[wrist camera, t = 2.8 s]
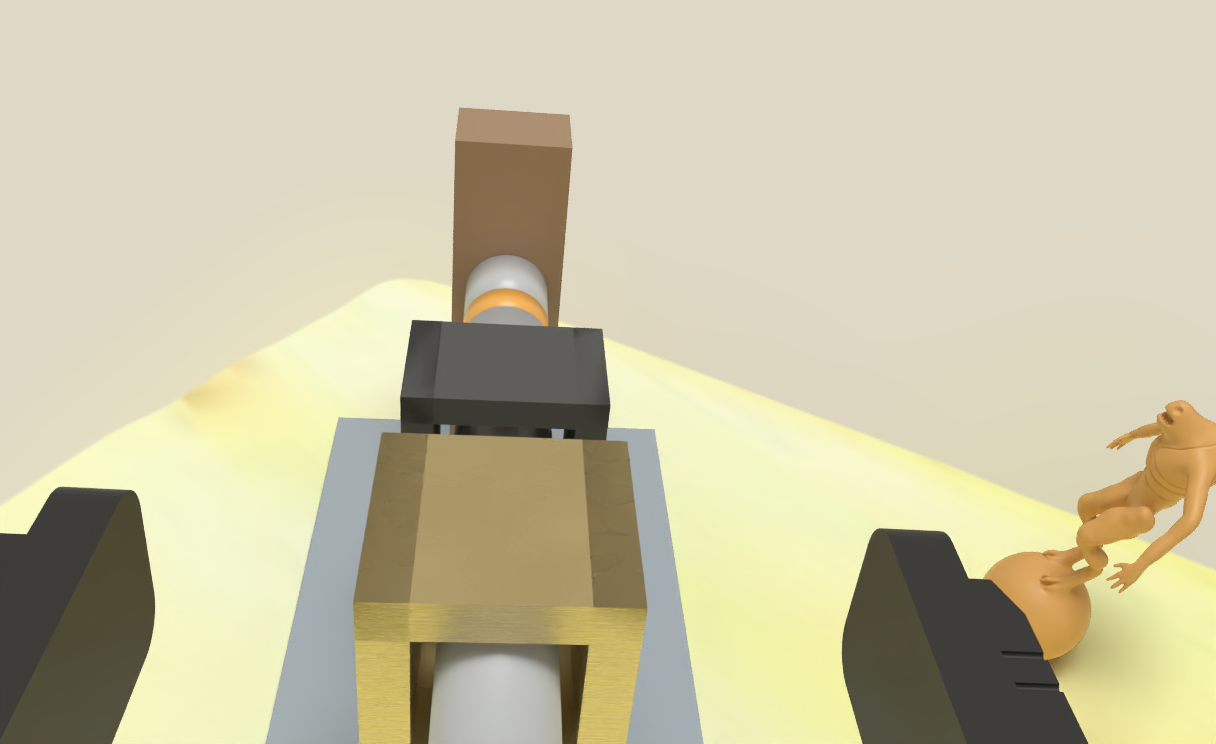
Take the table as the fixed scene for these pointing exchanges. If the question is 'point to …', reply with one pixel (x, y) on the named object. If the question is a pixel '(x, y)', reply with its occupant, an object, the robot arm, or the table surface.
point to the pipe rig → (493, 294)
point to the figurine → (1115, 528)
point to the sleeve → (499, 574)
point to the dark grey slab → (505, 378)
